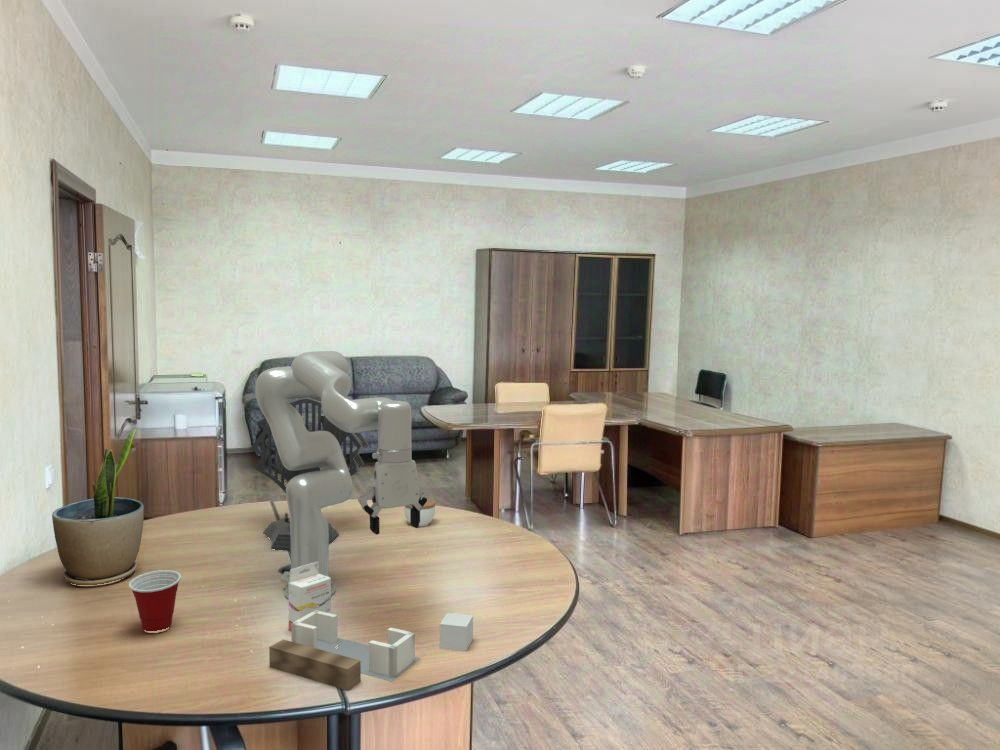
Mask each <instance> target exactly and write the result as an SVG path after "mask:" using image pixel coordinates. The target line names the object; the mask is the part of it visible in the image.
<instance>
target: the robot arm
mask: <svg viewBox="0 0 1000 750" xmlns="http://www.w3.org/2000/svg"><path fill="white" fill-rule="evenodd" d="M349 367H350V366H349V363H348V360H347V359H346V357H345V356H344V355H343V354H342V353H341V352H338V351H335V350H324V351H323V350H322V351H321V350H319V351H317V350H316V351H305V352H303V353H301V354H298V355H296V357H294V359H293V360H292V362H291V366H277V367H272V368H268V369H266V370H264V371H262V372H260V374H258V376H257V378H256V382H255V398H256V402H257V404H258V407H259V408H260V411H261V413H262V414H263V416H264V418H266V420H267V422H266V423H267V425H268V424H269V426H270V428H271V432H272V434H271V436H272V438H273V441H275V444H276V447H277V450H278V453H279V456H280V459H281V461H282V464H283V465H284V467H285V468H286V469H288V470H291V471H296V470H304V469H309V468H315V467H319V468H320V471H313V472H308V473H303V474H300V475H297V476H295V477H293V478H292V479H291V480H290V481H289V482H288V484H286V485H285V487H286V493H285V498H286V501H287V507H288V512H289V513H288V515H289V518H290V536H291V551H290V570H291V569H294V568H297V567H300V566H304V565H307V564H311V563H314V562H319V574H322V575H325V576H327V577H330V565H329V564H330V561H329V559H330V552H329V551H330V547H329V545H330V544H329V530H328V523H329V522H328V521H327V519H326V517H325V516H324V514H323V513H322V511H321V509H323V508H327V507H330V506H334V505H339V504H341V503H346V501H348V500H349V499H350V498H351V496H352V494H353V490H354V489H353V481H352V480H353V479H352V476H350V473H349V470H350V469H349V468H348V465H347V462H345V459H344V456H343V449H342V448H341V446H340V445H339V442H338V440H337V439H336V438H335V436H334V435H333V434H331V433H330V432H328V431H322V430H321V431H318V430H316V431H314V432H309V431H307V429H306V424H305V422H304V419H303V415H302V416H301V415H300V413H299V410H297V408H296V409H295V408H294V407H293V406H292V405H291V404H289V403H290V402H288V400H289V399H301V398H305V397H312V396H318V397H320V398H321V406H322V407H321V411H322V412H323V416H324V415H325V417H326V418H327V419H328V420H329V421H330V422H331V423H333V424H334V425H335V426H337V427H338V428H339V429H341V430H343V431H345V432H348V433H352V434H355V433H359V432H360V433H363V432H370V431H377V450H376V452H372V454H371V457H372V459H373V460H374V459H376V460H377V461H376V462H375V463H374V469H373V476H372V485H371V489H370V490H368V491H367V492H365V493H364V494H362V495H360V496H359V497H358V499H357V501H358V503H359V505H360V507H361V509H362V510H363V511H364V512H366V514H368V515H369V529H370V531H371V533H373V534H375V535H377V536H378V535H380V517H379V516H378V515H379V514H380V512H381V511H382V509H384V510H386V509H395V508H400V507H401V508H403V507H404V506H409V505H411V506H412V508H411V510H410V523H409V524H410V526H412V527H413V528H415V529H419V528H420V527H419V523H420V511H421V510H422V507H423V506H424V504H425V503H426V502H427V499H429V496H430V494H431V489H429V488H428V487H425V486H423V485H420V483H419V476H418V475H419V474H418V469H417V464H416V461H415V460H414V459H412V458H413V457H412V453H413V452H412V405H411V404H410V403H409V402H407V401H403V400H394V399H393V400H392V399H390V398H388V397H382V396H381V397H379V396H377V397H366V398H358V399H348V398H347V397H348V395H349V393H350V391H351V388H352V380H351V377H350V376H349V371H350V369H349ZM420 492H421V496H420ZM419 497H420V498H419ZM370 499H371V501H372V504H371V506H369V504H368V501H369V500H370ZM309 570H310V569H304V570H303V571H300V574H301V573H304V572H308V571H309ZM289 578H290V571H288V570H286V571H284V572H283V574H282V576H281V577H280V581H281V582H283V583H287V587H286V588H285V590H284V595H285V597H286V598H287V599H288V600H289ZM335 592H336V586H335V584H334V583H332V582H331V596H333V595H334V594H335Z"/></svg>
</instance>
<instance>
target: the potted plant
mask: <svg viewBox="0 0 1000 750" xmlns="http://www.w3.org/2000/svg"><path fill="white" fill-rule="evenodd" d="M137 429H138V428H134V429H132V431H131V432H130V433H129V434H128V435H127V438H126V439H125V441H124V443H123V446H122V449H121V452H120V454H119V458H118V462H117V464H116V459H115V457H114V452H113V450H112V449H110V450H109V447H106V448H105V449H104V455H103V459H102V463H101V464H100V468H99V471H98V475H97V479H96V485H95V483H94V482H91V484H92V489H93V496H92V498H91V499H85V500H80V501H77V502H73V503H69V504H66V505H63V506H60V507H59V508H57V509H55V510H54V511H52V514H51V517H52V519H51V520H52V526H53V527H52V528H53V534H54V539H55V544H56V548H57V553H58V556H59V560H60V562H61V564H62V566H63V568H64V570H65V571H64V572H63V578H64V579H65V580H66V581H67V583H68V584H70V583H72V584H76V585H97V584H104V583H109V582H112V581H116V580H119V579H122V578H125V577H127V576H128V577H130V576H131V575H132V574H133V573H134V572H135V570H136V568H137V562H136V560H137V557H138V555H139V552H140V547H141V542H142V538H143V537H142V536H143V531H144V515H145V513H144V504H143V502H141V501H140V500H138V499H134V498H128V497H119V496H118V497H117V496H115V491H116V483H117V478H118V475H119V473H120V472H121V471H122V468H123V466H124V464H125V463H126V461H127V459H128V456H129V453H130V451H131V447H132V442H133V439H134V437H135V433H136V431H137ZM129 575H130V576H129ZM128 577H127V578H128ZM125 579H126V578H125ZM72 584H71V585H72Z"/></svg>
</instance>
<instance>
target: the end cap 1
mask: <svg viewBox="0 0 1000 750" xmlns="http://www.w3.org/2000/svg"><path fill="white" fill-rule="evenodd" d="M290 632H291V639H290V641H291V642H295V643H298V644H302V645H306V646H309V647H313V648H317V649H318V643H317V639H318V640H322V641H326V642H330V643H335V642H337V638H338V614H334V613H326V612H322V611H318V610H315V611H313V612H311V613H309V614H307V615H306V616H304V617H302V618H300V619H299V620H297V621H295V622H293V623H291V631H290Z"/></svg>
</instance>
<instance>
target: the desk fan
mask: <svg viewBox="0 0 1000 750" xmlns="http://www.w3.org/2000/svg"><path fill="white" fill-rule="evenodd" d="M288 403H289V404H291V405H292V406H293V407H294V408H295V409H296V410H297V407H296V406H297V405H298V412H299V413H300V415H301V416H302V417H303V408H302V407H303V404H305V406H304V407H305V408H304V409H305V410H304V411H305V415H304V416H305V422H304V423H305V427H306V429H307V431H309V432H314V431H328V432H330V433H331V434H333V435H334V436H335V438H336V439H337V440H338V442H339V445H340V447H341V446H342V453H343V456H344V459H345V462H346V463H347V462H348V461H349V469H348V470H349V473H350V476H351V477H352V476H354V475H355V474H357V473H359V472H360V469H362V468H363V467H364V466H365V463H364V460H363V458H362V457H361V456H360V454H363V452H364V451H365V449H366V448H368V447H369V443H368V442H367V440H366V439H365V437H364V436H363V434H362V432H359V433H348V432H345V431H343V430H341V429H339V428H338V427H337V426H335V425H334V424H333V423H331V422H330V421H329V420H328V419H327V418H326V417H325V415H324V414H323V415H322V406H321V398H320V397H318V396H317V395H316V396H312V397H302V398H298V399H296V400H293V401H291V402H288ZM309 404H311V429H309ZM316 421H317V422H316ZM259 426H260V427H261V428H262V433H260V434H259V436H258V437H257V438H256V439H255V441H254V442H253V444H252V446H251V447H250V449H251V451H253V452H254V453H257V454H258V455H259V456H260V459H259V461H258V463H257V464H256V466H255V470H256V471H258V472H259V473H261V474H262V475H264V476H266V477H267V478H268V479H270V480H272V481H273V482H274V484H276V485H277V486H278V487H279V488H281V489H282V491H283V492H284V494H286V486H287V484H288V482H289V481H290V480H291V479H292V478H293V477H295V476H297V475H300V474H303V473H308V472H313V471H320V468H319V467H315V468H309V469H304V470H296V471H291V470H288V469H286V468H285V467H284V465H283V464H282V461H281V459H280V456H279V453H278V450H277V447H276V444H275V441H274V440H273V441H274V444H273V445H274V448H273V446H272V432H271V428H270V426H269V424H268V422H267V420H266V418H265V417H264V419H262V420H261V421H260V422H259ZM348 438H349V455H348V456H347V439H348ZM353 444H354V445H355V446H356V449H355V450H353V449H354V448H353ZM273 456H274V463H272V459H273ZM272 473H273V474H272ZM327 523H328V530H329V545H331V544H333V543H334V542H335V541H336V540H337V539H338V538H339V537H340V533H339V532H338V531H337V530H336V529H335V528H334V526H333V525H332V524H331V523H329V522H327ZM263 534H265V535H266V536H267V537H269V538H270V540H271V541H270V540H269V541H270V543H271V542H272V544H271V545H270V550H271V549H275V550H287V551H286V552H291V536H290V517H289V513H288V512H286V513H284V517H281V518H279V519H277V520H275V521H272V522H270V524H269V525H268V526H267V527H266V528H265V530H263V531H262V535H263ZM266 536H265V537H266ZM267 537H266V538H267ZM337 537H338V538H337ZM336 538H337V539H336ZM335 539H336V540H335ZM334 540H335V541H334ZM333 541H334V542H333ZM332 542H333V543H332Z"/></svg>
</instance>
